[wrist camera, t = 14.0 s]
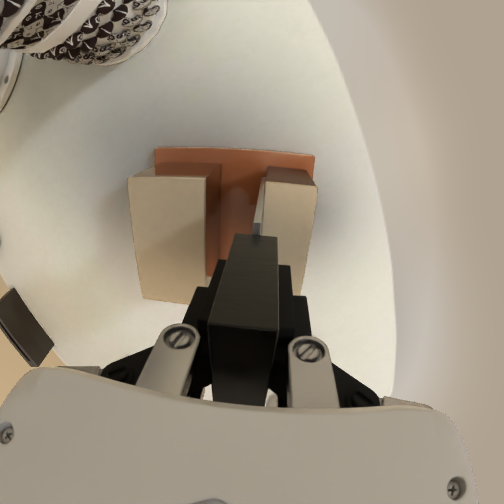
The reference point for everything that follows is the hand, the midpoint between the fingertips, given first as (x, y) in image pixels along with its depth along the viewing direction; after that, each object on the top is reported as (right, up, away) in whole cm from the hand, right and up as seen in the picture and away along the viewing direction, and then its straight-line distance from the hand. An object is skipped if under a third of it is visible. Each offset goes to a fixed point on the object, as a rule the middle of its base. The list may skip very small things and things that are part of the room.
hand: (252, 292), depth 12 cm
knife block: (-33, -8, +17) cm, 38 cm away
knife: (+1, +3, +7) cm, 8 cm away
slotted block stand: (-2, +4, +8) cm, 10 cm away
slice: (+2, +4, +7) cm, 9 cm away
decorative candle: (-10, +20, +1) cm, 22 cm away
